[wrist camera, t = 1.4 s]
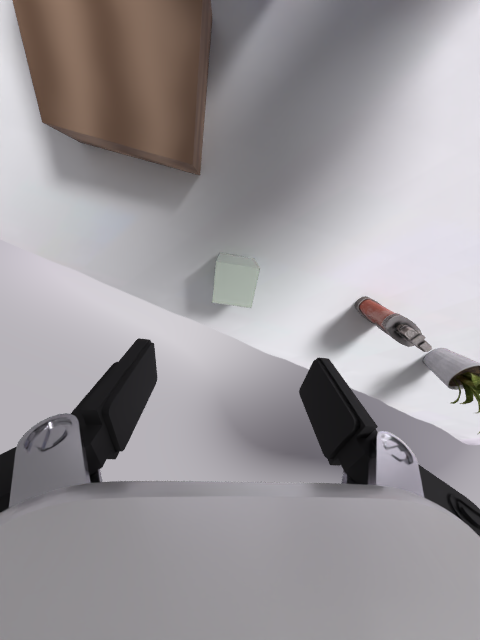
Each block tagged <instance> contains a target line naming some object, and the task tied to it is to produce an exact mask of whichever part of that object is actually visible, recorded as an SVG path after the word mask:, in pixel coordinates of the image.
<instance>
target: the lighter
mask: <svg viewBox="0 0 480 640" xmlns="http://www.w3.org/2000/svg"><path fill="white" fill-rule="evenodd" d="M355 307H356V309H357V310H358V312H359V313H360V314H361V315H362V316H363V317H364V318H366V319H367V320H369V321H370V322H371V323H374V324H376V325H377V327H378V328H380V329H381V330H382V331H384V332H385V333H387V334H388V335H389V336H391V337H392V338H393V339H395V340H396V341H398V342H399V343H401V344H403V345H405V346H408V347H410V346H414V345H415V346H416V347H418V348H419V349H421V350H422V351H424V352H428V351H430V350H431V349H432V347H431V345H429V344H428V343H427V342H426V341H425V340H424V339H425V337H424V336H423V335H422V333H421V331H420V329H419V328H418V327H417V326H416V324H414V323H413V322H412V321H410V320H409V319H407V318H405V317H404V316H402V315H400V314H397V313H394V312H392V311H390V310H388V309H386V308H385V307H383V306H382V305H381V304H379V303H378V302H376V301H375V300H373V299H371V298H369V297H366V296H364V297H361V298H360V299H358V300H357V302H356V303H355Z"/></svg>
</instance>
